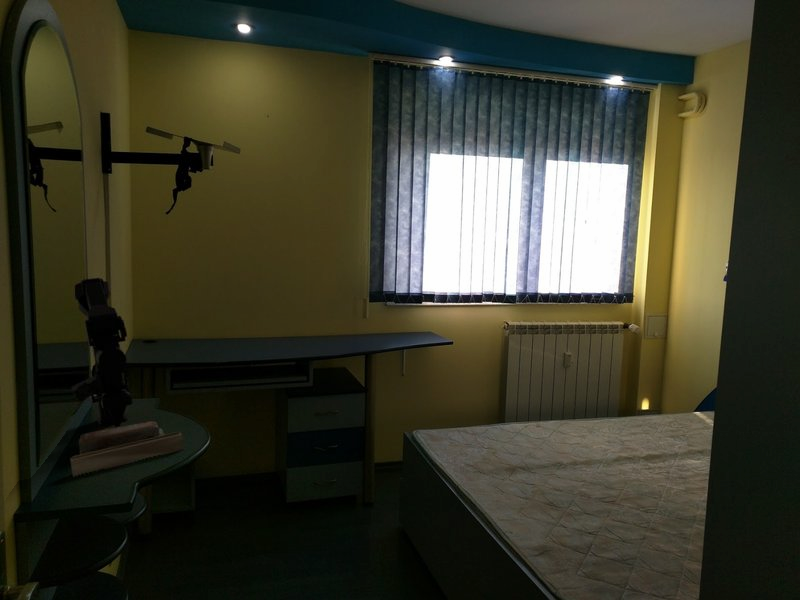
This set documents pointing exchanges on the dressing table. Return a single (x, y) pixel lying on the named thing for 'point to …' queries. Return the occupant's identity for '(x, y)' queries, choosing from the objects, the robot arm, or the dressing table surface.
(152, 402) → the dressing table surface
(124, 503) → the dressing table surface
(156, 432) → the packaged product
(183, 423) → the dressing table surface
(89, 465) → the oak rail
